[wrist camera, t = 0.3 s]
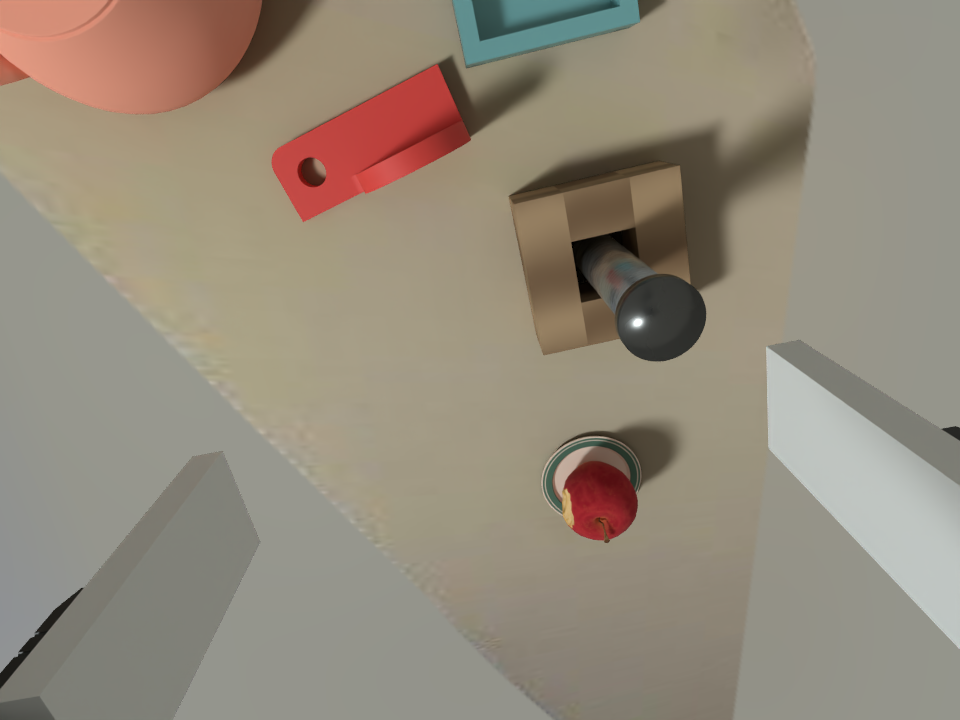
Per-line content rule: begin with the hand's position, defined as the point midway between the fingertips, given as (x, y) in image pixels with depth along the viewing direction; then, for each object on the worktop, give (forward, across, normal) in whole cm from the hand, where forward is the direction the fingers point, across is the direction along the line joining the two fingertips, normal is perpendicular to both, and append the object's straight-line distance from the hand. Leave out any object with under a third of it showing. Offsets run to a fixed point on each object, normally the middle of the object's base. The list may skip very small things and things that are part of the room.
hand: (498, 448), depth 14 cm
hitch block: (+28, +8, -2) cm, 29 cm away
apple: (+28, +5, -20) cm, 35 cm away
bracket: (+28, -5, +7) cm, 29 cm away
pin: (+28, +8, -2) cm, 29 cm away
